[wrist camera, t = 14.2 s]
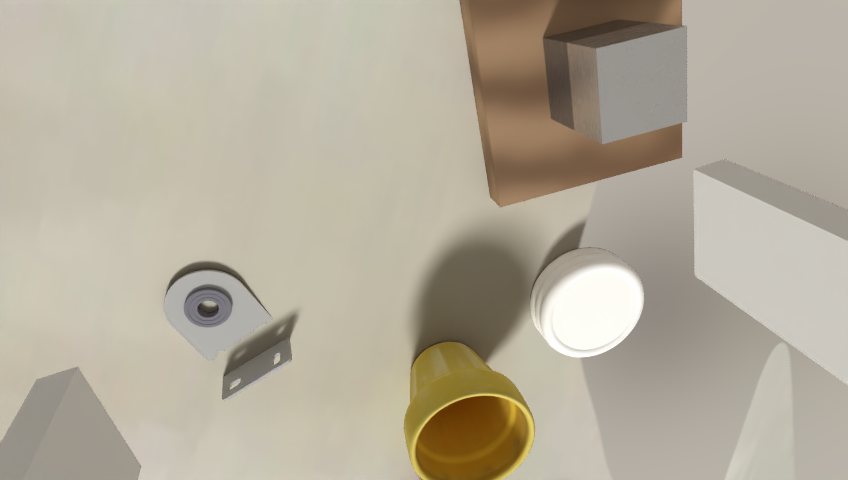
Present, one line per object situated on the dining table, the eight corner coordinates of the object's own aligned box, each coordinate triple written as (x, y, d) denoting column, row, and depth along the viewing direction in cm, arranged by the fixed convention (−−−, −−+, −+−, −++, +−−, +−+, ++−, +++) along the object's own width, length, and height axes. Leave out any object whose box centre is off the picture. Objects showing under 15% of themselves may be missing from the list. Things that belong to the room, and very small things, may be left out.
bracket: (218, 250, 46) (214, 270, 43) (291, 337, 51) (292, 361, 48) (147, 294, 46) (138, 316, 43) (226, 377, 51) (223, 402, 48)
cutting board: (453, -37, 41) (463, -39, 39) (660, -83, 43) (681, -86, 41) (490, 197, 49) (500, 207, 47) (664, 149, 51) (681, 157, 49)
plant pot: (415, 432, 57) (439, 513, 48) (371, 356, 53) (389, 430, 44) (510, 385, 57) (551, 457, 49) (474, 305, 53) (513, 369, 44)
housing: (542, 37, 42) (596, 48, 35) (619, 19, 43) (686, 26, 36) (551, 118, 45) (602, 144, 38) (623, 100, 45) (687, 121, 38)
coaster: (614, 336, 58) (633, 357, 55) (520, 341, 56) (534, 362, 53) (636, 244, 54) (658, 260, 51) (537, 245, 52) (553, 262, 49)
